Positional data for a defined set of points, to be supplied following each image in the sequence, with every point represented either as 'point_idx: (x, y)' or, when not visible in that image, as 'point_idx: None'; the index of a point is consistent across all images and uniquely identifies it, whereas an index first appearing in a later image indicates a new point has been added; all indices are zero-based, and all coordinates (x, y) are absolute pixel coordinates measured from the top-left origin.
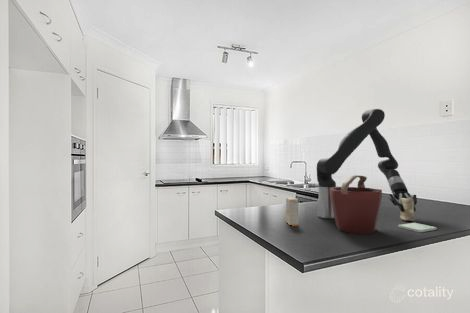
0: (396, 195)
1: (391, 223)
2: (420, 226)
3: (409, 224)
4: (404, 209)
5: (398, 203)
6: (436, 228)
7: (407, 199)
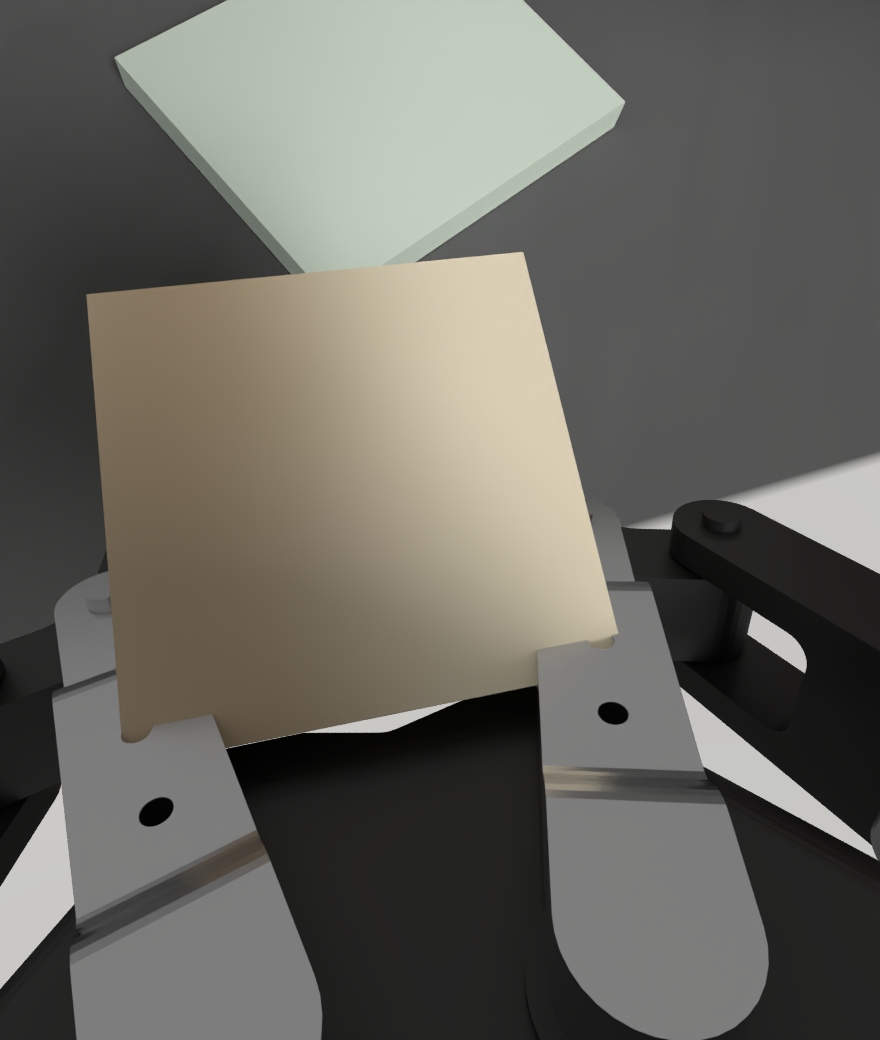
0: (865, 864)
1: (664, 323)
2: (337, 70)
3: (457, 156)
4: None
5: (627, 537)
6: (125, 68)
7: (383, 270)
